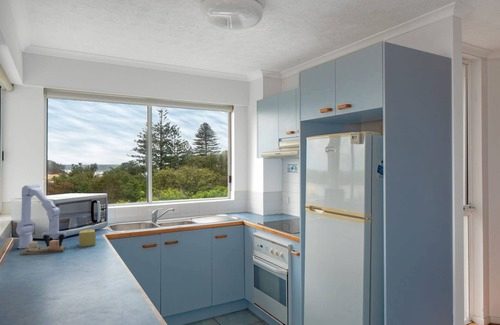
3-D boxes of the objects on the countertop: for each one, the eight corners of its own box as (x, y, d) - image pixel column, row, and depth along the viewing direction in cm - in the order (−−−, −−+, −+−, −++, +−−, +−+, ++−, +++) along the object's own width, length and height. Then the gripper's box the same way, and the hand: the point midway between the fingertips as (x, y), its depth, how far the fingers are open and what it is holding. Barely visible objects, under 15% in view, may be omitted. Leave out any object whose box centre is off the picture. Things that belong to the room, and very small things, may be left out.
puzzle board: (25, 250, 231) (25, 248, 231) (65, 247, 238) (65, 245, 238) (20, 255, 220) (20, 252, 220) (62, 251, 228) (62, 249, 228)
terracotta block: (51, 249, 233) (51, 240, 233) (59, 249, 234) (59, 240, 234) (49, 251, 229) (49, 241, 229) (56, 251, 230) (56, 241, 229)
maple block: (30, 251, 229) (30, 241, 229) (38, 251, 230) (38, 241, 230) (28, 253, 225) (28, 243, 224) (36, 252, 226) (36, 242, 226)
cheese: (79, 243, 250) (79, 230, 250) (95, 242, 255) (95, 228, 255) (78, 247, 241) (78, 232, 241) (95, 245, 245) (95, 231, 245)
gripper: (67, 224, 236) (67, 244, 236) (44, 225, 234) (44, 245, 234) (64, 226, 229) (64, 246, 229) (40, 227, 227) (40, 247, 227)
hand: (54, 246), depth 231 cm, fingers open, 7 cm apart
